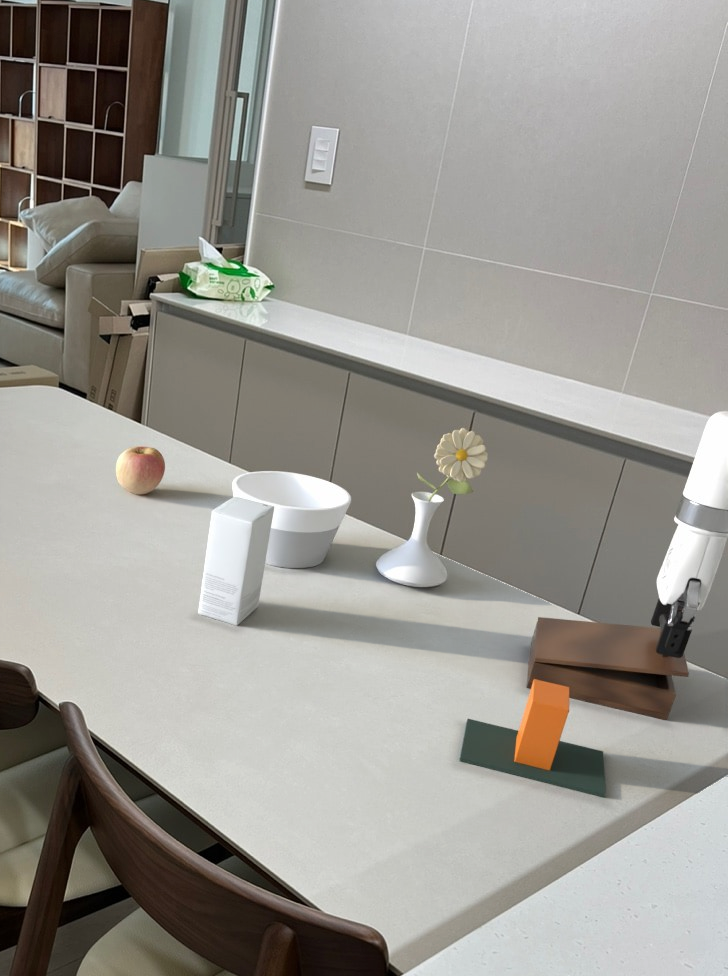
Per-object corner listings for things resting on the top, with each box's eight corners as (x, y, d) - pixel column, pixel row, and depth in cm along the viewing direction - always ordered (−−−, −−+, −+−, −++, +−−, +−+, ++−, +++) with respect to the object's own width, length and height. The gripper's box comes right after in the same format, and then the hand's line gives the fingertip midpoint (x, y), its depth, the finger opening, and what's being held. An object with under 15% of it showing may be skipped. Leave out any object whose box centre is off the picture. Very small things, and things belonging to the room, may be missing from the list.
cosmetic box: (220, 596, 155) (234, 494, 148) (261, 608, 153) (277, 505, 146) (195, 615, 148) (209, 508, 141) (238, 627, 146) (254, 520, 139)
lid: (678, 633, 145) (684, 603, 143) (688, 677, 132) (694, 645, 130) (537, 620, 150) (541, 591, 148) (534, 661, 138) (538, 630, 136)
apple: (166, 489, 197) (171, 446, 194) (154, 502, 190) (159, 459, 186) (122, 481, 199) (125, 439, 195) (108, 494, 191) (111, 450, 187)
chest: (658, 673, 148) (667, 649, 146) (666, 720, 135) (676, 694, 134) (530, 645, 152) (537, 621, 150) (526, 687, 139) (534, 662, 138)
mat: (602, 754, 126) (603, 751, 125) (604, 797, 117) (605, 793, 117) (466, 721, 129) (467, 718, 129) (459, 761, 121) (460, 757, 120)
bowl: (360, 573, 170) (372, 509, 165) (250, 576, 163) (260, 510, 158) (309, 530, 185) (320, 470, 180) (207, 532, 179) (215, 470, 174)
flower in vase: (368, 583, 166) (401, 425, 154) (379, 560, 176) (411, 410, 164) (452, 602, 163) (491, 442, 151) (458, 577, 173) (496, 425, 161)
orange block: (550, 746, 125) (569, 686, 121) (549, 770, 120) (569, 709, 116) (516, 737, 126) (534, 678, 122) (514, 762, 121) (532, 701, 117)
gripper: (672, 491, 139) (632, 610, 147) (684, 529, 124) (638, 660, 132) (732, 502, 137) (689, 622, 145) (752, 543, 122) (702, 674, 130)
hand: (665, 640), depth 138 cm, fingers open, 9 cm apart
